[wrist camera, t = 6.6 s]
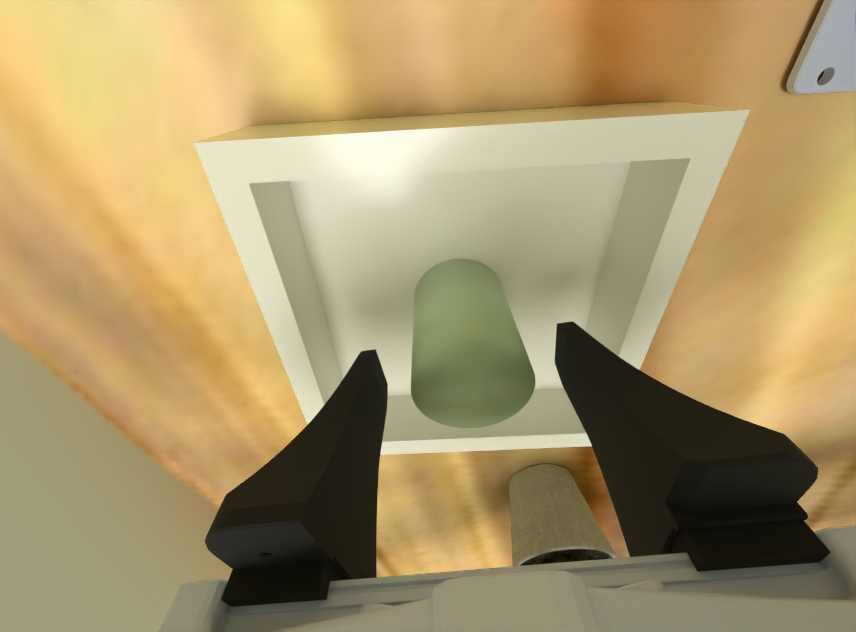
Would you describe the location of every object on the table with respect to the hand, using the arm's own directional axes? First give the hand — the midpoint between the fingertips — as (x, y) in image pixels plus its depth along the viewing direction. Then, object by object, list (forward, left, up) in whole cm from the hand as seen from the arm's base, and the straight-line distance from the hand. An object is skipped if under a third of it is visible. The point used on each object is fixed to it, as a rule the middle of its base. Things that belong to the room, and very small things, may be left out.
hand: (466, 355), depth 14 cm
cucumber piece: (0, 0, -4) cm, 4 cm away
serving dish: (0, 0, -5) cm, 5 cm away
